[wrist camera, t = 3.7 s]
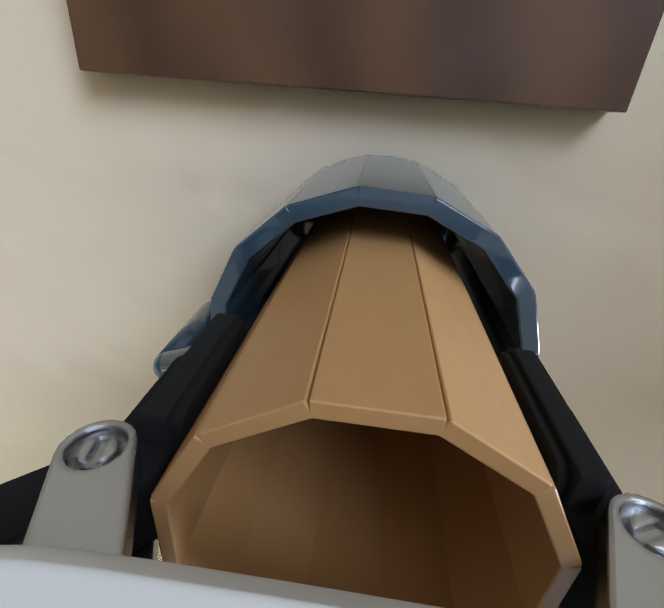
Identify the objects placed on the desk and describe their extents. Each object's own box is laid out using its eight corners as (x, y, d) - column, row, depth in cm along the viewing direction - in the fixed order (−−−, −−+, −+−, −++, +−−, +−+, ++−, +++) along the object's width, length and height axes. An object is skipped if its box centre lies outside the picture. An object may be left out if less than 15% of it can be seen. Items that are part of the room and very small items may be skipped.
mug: (464, 125, 15) (525, 140, 9) (490, 332, 19) (547, 451, 13) (176, 208, 18) (57, 266, 12) (250, 373, 22) (192, 488, 16)
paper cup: (461, 203, 16) (658, 447, 5) (432, 339, 19) (505, 693, 8) (303, 187, 17) (121, 375, 5) (298, 323, 20) (177, 633, 8)
